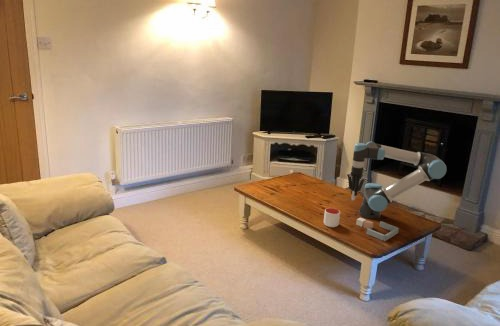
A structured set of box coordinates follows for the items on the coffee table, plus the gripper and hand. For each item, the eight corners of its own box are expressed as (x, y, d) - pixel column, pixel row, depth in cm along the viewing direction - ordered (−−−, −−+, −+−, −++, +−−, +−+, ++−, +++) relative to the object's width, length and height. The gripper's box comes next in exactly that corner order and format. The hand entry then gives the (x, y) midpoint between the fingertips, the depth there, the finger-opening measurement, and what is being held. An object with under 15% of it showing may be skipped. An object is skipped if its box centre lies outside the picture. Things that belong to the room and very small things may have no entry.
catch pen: (366, 233, 265) (367, 228, 264) (380, 225, 277) (381, 221, 276) (384, 241, 256) (385, 236, 255) (398, 232, 269) (399, 228, 268)
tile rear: (356, 224, 278) (356, 219, 276) (359, 222, 281) (360, 217, 280) (361, 227, 275) (362, 221, 273) (365, 225, 278) (366, 219, 276)
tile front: (363, 227, 274) (364, 222, 273) (366, 225, 277) (367, 220, 276) (369, 230, 271) (370, 224, 270) (372, 228, 274) (373, 222, 273)
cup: (336, 221, 281) (338, 208, 278) (340, 228, 271) (341, 214, 268) (322, 221, 280) (323, 207, 277) (325, 227, 271) (326, 213, 268)
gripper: (346, 164, 273) (341, 197, 280) (363, 170, 264) (358, 203, 271) (352, 162, 278) (348, 195, 285) (369, 167, 269) (364, 201, 276)
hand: (353, 199), depth 278 cm, fingers closed
